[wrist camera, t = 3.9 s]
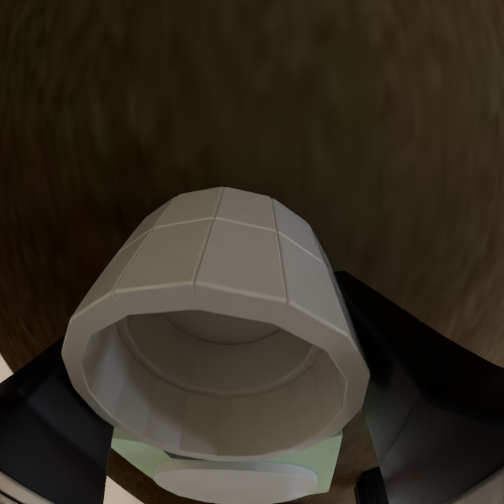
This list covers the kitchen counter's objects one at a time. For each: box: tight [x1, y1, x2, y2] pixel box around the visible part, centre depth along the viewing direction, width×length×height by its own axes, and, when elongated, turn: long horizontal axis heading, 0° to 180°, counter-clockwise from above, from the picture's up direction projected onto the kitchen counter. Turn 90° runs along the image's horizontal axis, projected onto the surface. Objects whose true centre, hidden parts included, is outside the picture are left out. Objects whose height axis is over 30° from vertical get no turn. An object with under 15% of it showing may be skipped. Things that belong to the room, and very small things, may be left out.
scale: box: [111, 427, 343, 504], centre depth 17 cm, size 14×14×3 cm
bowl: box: [61, 187, 370, 461], centre depth 8 cm, size 7×7×5 cm
